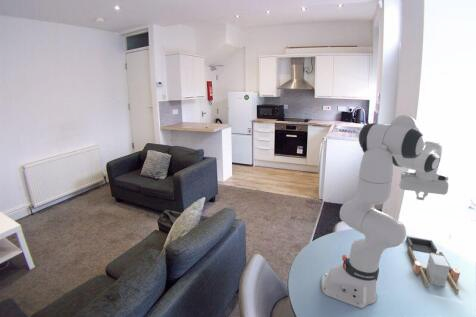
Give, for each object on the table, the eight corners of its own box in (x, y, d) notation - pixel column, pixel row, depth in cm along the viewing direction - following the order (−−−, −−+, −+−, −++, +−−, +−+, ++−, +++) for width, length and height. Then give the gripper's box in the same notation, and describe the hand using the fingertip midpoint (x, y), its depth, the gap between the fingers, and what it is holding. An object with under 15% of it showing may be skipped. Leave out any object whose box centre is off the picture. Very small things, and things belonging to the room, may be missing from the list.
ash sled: (425, 286, 121) (429, 269, 118) (417, 266, 134) (420, 250, 131) (458, 293, 117) (463, 276, 115) (446, 272, 130) (450, 255, 127)
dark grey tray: (409, 250, 146) (410, 245, 146) (405, 240, 155) (406, 236, 154) (436, 254, 143) (437, 249, 142) (430, 245, 151) (431, 240, 150)
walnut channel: (414, 268, 133) (415, 262, 132) (407, 251, 146) (408, 246, 145) (450, 275, 128) (452, 270, 127) (440, 257, 141) (441, 252, 140)
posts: (414, 273, 129) (416, 264, 128) (412, 269, 132) (414, 260, 130) (457, 282, 124) (460, 273, 122) (454, 278, 127) (457, 268, 125)
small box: (444, 287, 121) (450, 267, 118) (429, 284, 123) (435, 264, 120) (439, 275, 128) (444, 256, 125) (425, 272, 130) (429, 253, 127)
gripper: (403, 173, 136) (398, 198, 140) (452, 178, 129) (445, 205, 133) (400, 169, 141) (395, 194, 145) (447, 174, 135) (441, 199, 139)
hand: (419, 199), depth 139 cm, fingers closed
